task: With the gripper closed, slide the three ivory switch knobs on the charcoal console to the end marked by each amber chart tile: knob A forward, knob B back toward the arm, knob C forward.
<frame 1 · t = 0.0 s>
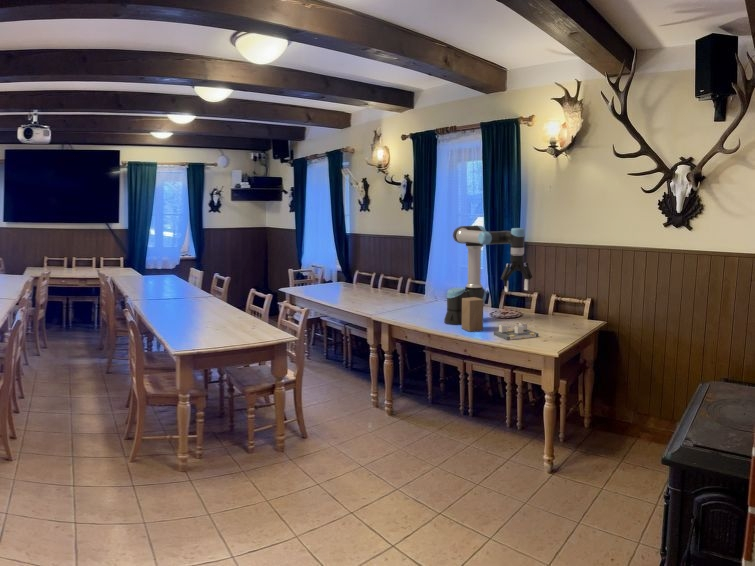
hand: (516, 291, 301), 28 cm above the table, fingers open, 13 cm apart
wooden block: (472, 329, 326), on the table
slider a: (503, 328, 309), point 5 cm above the table, slide at -3.0 cm
slider c: (522, 326, 313), point 5 cm above the table, slide at -3.0 cm
console: (515, 335, 309), on the table
slider b: (518, 329, 305), point 5 cm above the table, slide at 3.0 cm
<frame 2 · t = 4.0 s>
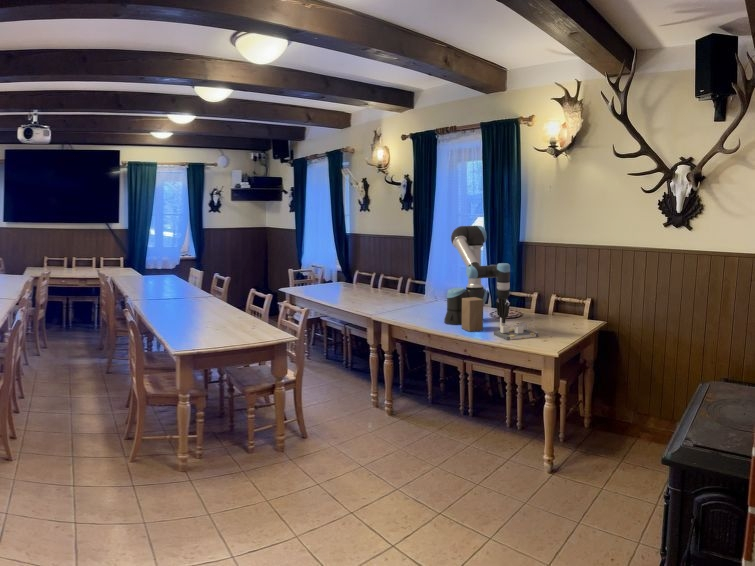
hand: (502, 327, 309), 5 cm above the table, fingers closed
slider a: (504, 328, 307), point 5 cm above the table, slide at -1.5 cm, touching gripper
everything else where it was.
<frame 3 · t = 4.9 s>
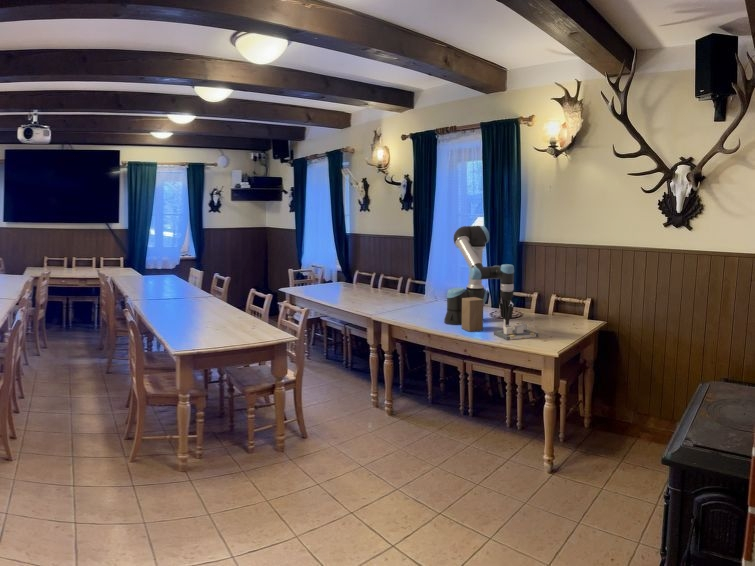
hand: (505, 329, 306), 4 cm above the table, fingers closed
slider a: (508, 330, 304), point 5 cm above the table, slide at 2.2 cm, touching gripper
everything else where it was.
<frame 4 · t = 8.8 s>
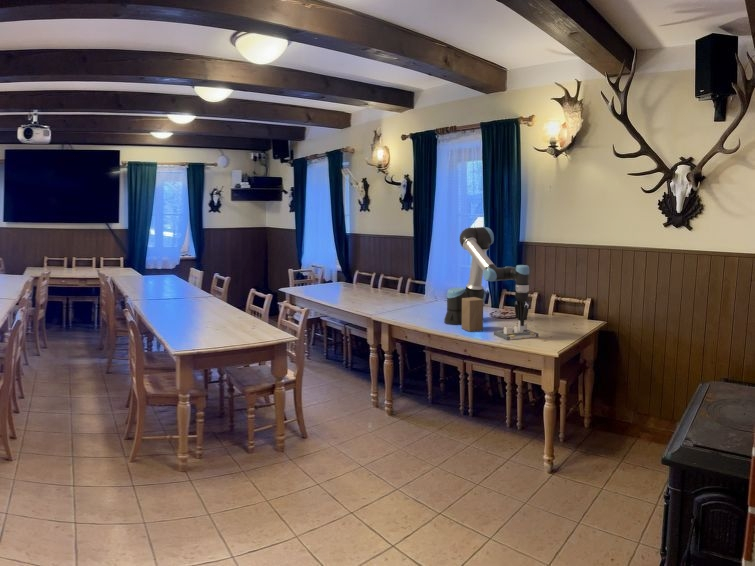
hand: (520, 330, 304), 4 cm above the table, fingers closed
slider a: (508, 330, 304), point 5 cm above the table, slide at 2.2 cm
slider b: (518, 329, 306), point 5 cm above the table, slide at 2.6 cm, touching gripper
everything else where it was.
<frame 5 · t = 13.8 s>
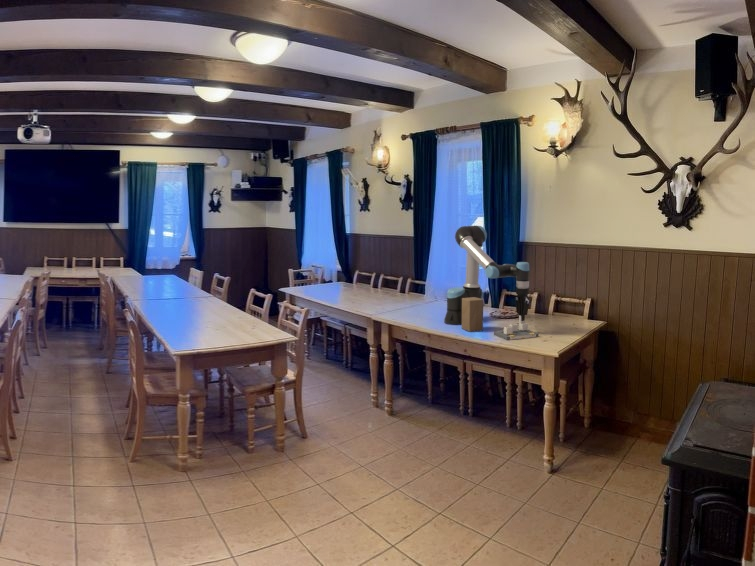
hand: (521, 325, 315), 5 cm above the table, fingers closed
slider c: (523, 326, 313), point 5 cm above the table, slide at -2.2 cm, touching gripper
slider b: (513, 327, 311), point 5 cm above the table, slide at -2.5 cm
everything else where it was.
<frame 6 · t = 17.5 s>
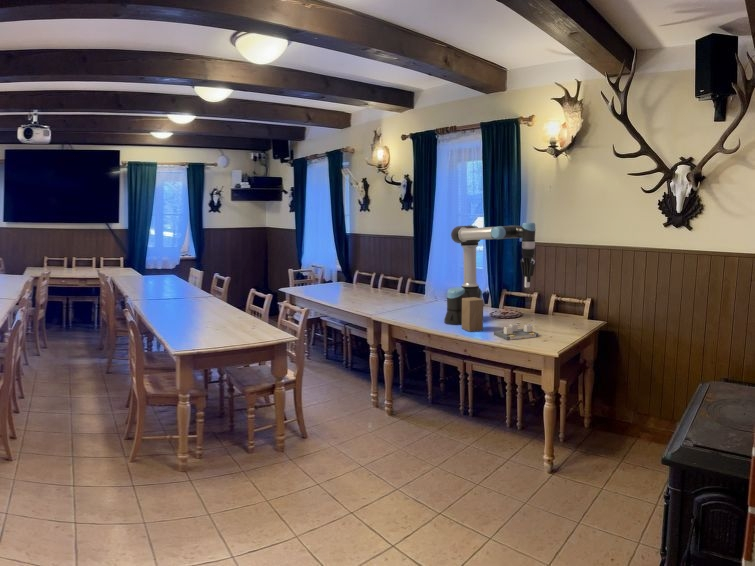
hand: (527, 287, 312), 28 cm above the table, fingers closed
slider c: (528, 328, 308), point 5 cm above the table, slide at 2.2 cm
everything else where it was.
at the end: slider a slide at 2.2 cm; slider b slide at -2.5 cm; slider c slide at 2.2 cm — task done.
